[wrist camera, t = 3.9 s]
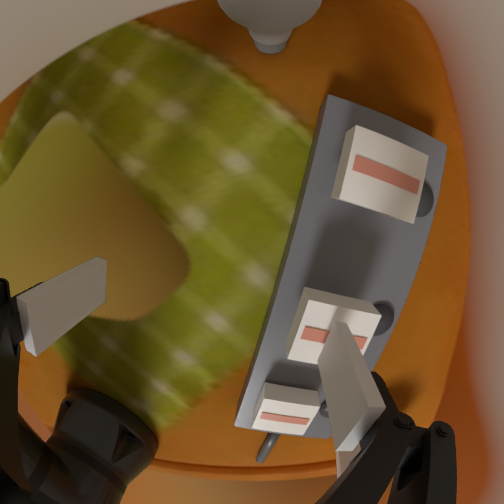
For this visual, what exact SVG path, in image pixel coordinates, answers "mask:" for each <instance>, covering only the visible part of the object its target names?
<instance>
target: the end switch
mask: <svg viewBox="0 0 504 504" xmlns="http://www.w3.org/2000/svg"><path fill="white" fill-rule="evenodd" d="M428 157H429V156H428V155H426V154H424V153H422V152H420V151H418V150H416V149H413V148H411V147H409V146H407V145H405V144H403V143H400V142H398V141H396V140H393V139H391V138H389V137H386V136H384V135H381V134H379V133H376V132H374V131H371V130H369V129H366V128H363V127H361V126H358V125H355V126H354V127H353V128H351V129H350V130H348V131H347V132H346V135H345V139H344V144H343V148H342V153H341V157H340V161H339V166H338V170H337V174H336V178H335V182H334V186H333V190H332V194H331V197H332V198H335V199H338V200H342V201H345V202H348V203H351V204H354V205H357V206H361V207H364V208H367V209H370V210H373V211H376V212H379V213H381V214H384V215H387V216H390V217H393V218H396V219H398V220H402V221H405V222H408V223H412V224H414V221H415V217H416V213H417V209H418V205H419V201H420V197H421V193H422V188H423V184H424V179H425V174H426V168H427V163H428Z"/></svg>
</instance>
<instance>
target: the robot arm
mask: <svg viewBox="0 0 504 504" xmlns="http://www.w3.org/2000/svg"><path fill="white" fill-rule="evenodd" d="M106 270H107V260H106V259H103V258H100V257H95V258H93V259H91V260H89V261H86V262H84V263H82V264H80V265H78V266H76V267H74V268H72V269H70V270H68V271H66V272H63V273H61V274H59V275H57V276H55V277H53V278H51V279H49V280H47V281H45V282H41V283H39V284H37V285H35V286H33V287H31V288H29V289H28V290H25V291H23V292H21V293H19V294H17V295H15V296H13V297H12V298H11V296H10V289H9V282H8V281H7V280H6V279H3V278H0V504H120V502H121V499H122V497H123V494H124V492H125V490H126V488H127V486H128V485H129V483H130V482H132V481H133V480H134V479H135V478H136V477H137V476H138V475H139V474H140V473H141V472H142V471H143V470H145V469H146V468H147V467H148V466H149V465H150V464H151V463H152V461H153V459H154V457H155V454H156V452H157V449H158V444H157V441H156V439H155V437H154V435H153V433H152V432H151V431H150V429H149V428H148V427H147V426H146V425H145V424H144V423H143V422H142V421H141V420H140V419H139V418H138V417H137V416H136V415H134V414H133V413H132V412H131V411H129V410H128V409H127V408H125V407H124V406H122V405H121V404H119V403H118V402H116V401H114V400H112V399H111V398H109V397H107V396H105V395H103V394H101V393H98V392H96V391H93V390H89V389H84V388H76V389H73V390H71V391H70V392H69V393H68V394H67V396H66V397H65V398H64V399H63V401H62V402H61V405H60V408H59V412H58V415H57V418H56V422H55V425H54V429H53V433H52V435H51V436H50V438H49V439H48V440H47V442H46V443H45V442H44V441H43V440H42V439H41V438H40V437H39V436H38V434H37V433H36V432H35V431H34V430H33V429H32V428H31V427H30V426H29V425H28V423H27V422H26V421H25V420H24V419H23V417H22V416H21V415H20V414H19V413H18V374H19V360H20V350H21V348H20V343H19V342H21V341H22V340H24V342H25V347H26V350H27V351H29V352H30V353H32V354H33V355H35V356H36V357H37V356H38V355H39V354H41V353H42V352H43V351H44V350H45V349H47V348H48V347H49V346H50V345H51V344H53V343H54V342H55V341H56V340H58V339H59V338H60V337H61V336H63V335H64V334H65V333H66V332H67V331H69V330H70V329H71V328H72V327H74V326H75V325H76V324H78V323H79V322H80V321H81V320H83V319H84V318H85V317H86V316H88V315H89V314H90V313H92V312H93V311H94V310H95V309H97V308H98V307H99V306H101V305H102V304H103V303H105V298H106V296H105V295H106ZM317 362H318V367H319V371H320V376H321V380H322V385H323V390H324V394H325V399H326V404H327V409H328V414H329V419H330V424H331V429H332V434H333V440H334V445H335V451H353V449H354V448H355V447H356V446H357V445H358V444H360V447H361V450H360V452H359V453H358V454H357V455H356V456H355V457H354V458H353V459H352V460H351V462H350V463H349V466H348V467H347V468H346V469H345V471H344V472H343V473H342V474H341V475H340V477H339V478H338V479H337V480H336V481H335V483H334V484H333V485H332V486H331V487H330V488H329V490H327V492H326V493H325V494H324V495H323V496H322V497H321V498H320V499H319V500H318V501H317V502H316V503H315V504H377V503H378V502H379V500H380V498H381V497H382V495H383V493H384V492H385V490H386V488H387V487H388V485H389V483H390V481H391V479H392V478H393V476H394V478H393V483H392V487H391V491H390V495H389V499H388V503H387V504H456V493H457V490H456V489H457V466H456V447H455V436H454V435H455V434H454V431H453V429H452V428H451V426H450V425H448V424H447V423H445V422H442V421H435V422H433V423H432V424H431V426H430V427H429V428H428V429H427V428H422V427H418V426H416V425H415V423H414V421H413V419H412V418H411V417H410V416H408V415H407V414H405V413H402V412H398V409H397V407H396V405H395V403H394V401H393V399H392V397H391V395H390V393H389V391H388V389H387V388H386V384H385V382H384V380H383V379H382V378H381V377H380V376H379V375H378V374H377V373H376V372H371V371H370V370H369V368H368V366H367V364H366V362H365V360H364V358H363V355H362V353H361V351H360V349H359V347H358V345H357V343H356V341H355V339H354V337H353V335H352V333H351V331H350V329H349V327H348V325H347V323H343V322H338V321H334V322H333V325H332V327H331V330H330V332H329V335H328V337H327V339H326V342H325V344H324V346H323V349H322V351H321V353H320V356H319V358H318V360H317Z"/></svg>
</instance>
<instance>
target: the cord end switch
mask: <svg viewBox="0 0 504 504" xmlns="http://www.w3.org/2000/svg"><path fill="white" fill-rule="evenodd" d="M319 408H320V402H319V397H318V392H317V391H314V390H307V389H300V388H294V387H288V386H282V385H277V384H272V383H266V382H265V383H264V386H263V388H262V391H261V393H260V396H259V399H258V401H257V404H256V406H255V409H254V411H253V418H252V428H254V429H260V430H266V431H272V432H279V433H287V434H295V435H303V434H304V433H305V431H306V430H307V428H308V427H309V425H310V423H311V422H312V420H313V418H314V417H315V415H316V413H317V412H318V410H319Z"/></svg>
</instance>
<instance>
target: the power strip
mask: <svg viewBox="0 0 504 504" xmlns="http://www.w3.org/2000/svg"><path fill="white" fill-rule="evenodd" d="M355 125H358V126H361V127H363V128H366V129H369V130H371V131H374V132H376V133H379V134H381V135H384V136H386V137H389V138H391V139H393V140H396V141H398V142H400V143H403V144H405V145H407V146H409V147H411V148H413V149H416V150H418V151H420V152H422V153H424V154H426V155H428V156H429V157H428V163H427V168H426V174H425V179H424V184H423V188H422V193H421V197H420V201H419V205H418V209H417V213H416V217H415V221H414V224H412V223H408V222H405V221H402V220H398V219H396V218H393V217H390V216H387V215H384V214H381V213H379V212H376V211H373V210H370V209H367V208H364V207H361V206H357V205H354V204H351V203H348V202H345V201H342V200H338V199H335V198H332V197H331V194H332V190H333V186H334V182H335V178H336V174H337V170H338V166H339V161H340V157H341V153H342V148H343V144H344V139H345V135H346V132H347V131H348V130H350V129H351V128H353V127H354V126H355ZM446 151H447V145H445V144H444V143H442V142H440V141H438V140H436V139H435V138H433V137H431V136H429V135H427V134H425V133H423V132H421V131H419V130H417V129H415V128H413V127H411V126H409V125H407V124H405V123H403V122H400V121H398V120H396V119H394V118H391V117H389V116H387V115H384V114H382V113H380V112H377V111H375V110H372V109H370V108H367V107H364V106H362V105H359V104H356V103H353V102H351V101H348V100H345V99H342V98H339V97H336V96H333V95H329V94H328V95H327V97H326V99H325V100H324V102H323V103H322V105H321V107H320V112H319V116H318V120H317V125H316V129H315V133H314V138H313V142H312V146H311V150H310V154H309V158H308V162H307V166H306V170H305V174H304V178H303V182H302V186H301V190H300V194H299V198H298V202H297V206H296V209H295V213H294V217H293V221H292V225H291V228H290V232H289V236H288V239H287V243H286V247H285V250H284V254H283V257H282V261H281V265H280V268H279V272H278V275H277V279H276V282H275V286H274V289H273V292H272V296H271V299H270V303H269V306H268V309H267V313H266V316H265V319H264V323H263V326H262V329H261V333H260V336H259V339H258V342H257V346H256V349H255V352H254V355H253V358H252V362H251V365H250V368H249V371H248V374H247V377H246V380H245V383H244V386H243V389H242V393H241V396H240V399H239V402H238V405H237V409H236V416H235V422H234V426H237V427H242V428H247V429H252V430H258V431H264V432H269V434H268V436H267V438H266V440H265V442H264V444H263V446H262V448H261V449H260V451H259V453H258V455H257V457H256V461H257V462H258V463H263V462H264V461H265V460H266V458H267V456H268V455H269V453H270V451H271V450H272V448H273V446H274V444H275V443H276V441H277V439H278V437H279V436H280V434H284V435H292V436H301V437H312V438H327V439H329V438H330V436H331V435H332V429H331V424H330V419H329V414H328V409H327V404H326V399H325V394H324V390H323V385H322V380H321V376H320V371H319V367H318V364H312V363H306V362H301V361H295V360H290V359H287V350H286V340H287V337H288V334H289V331H290V328H291V326H292V323H293V320H294V317H295V314H296V311H297V308H298V305H299V302H300V299H301V296H302V293H303V290H304V287H308V288H312V289H317V290H321V291H325V292H329V293H334V294H338V295H342V296H346V297H351V298H355V299H360V300H364V301H368V302H371V303H372V304H373V305H374V307H375V308H376V309H377V310H378V312H379V313H380V314H381V315H382V316H381V318H380V320H379V323H378V325H377V327H376V329H375V332H374V334H373V336H372V338H371V340H370V342H369V344H368V346H367V349H366V351H365V353H364V355H363V358H364V360H365V362H366V364H367V366H368V368H369V370H370V371H371V372H372V370H373V368H374V367H375V365H376V363H377V361H378V359H379V357H380V355H381V353H382V351H383V349H384V347H385V345H386V343H387V341H388V339H389V337H390V335H391V333H392V331H393V329H394V326H395V324H396V322H397V320H398V318H399V315H400V313H401V311H402V308H403V306H404V303H405V301H406V299H407V296H408V294H409V291H410V288H411V286H412V283H413V280H414V278H415V275H416V272H417V269H418V266H419V263H420V261H421V257H422V254H423V251H424V248H425V245H426V242H427V238H428V235H429V231H430V228H431V224H432V220H433V216H434V212H435V208H436V204H437V200H438V195H439V191H440V186H441V181H442V175H443V170H444V164H445V157H446ZM265 382H266V383H272V384H277V385H282V386H288V387H294V388H300V389H307V390H314V391H317V392H318V397H319V402H320V408H319V410H318V412H317V413H316V415H315V417H314V418H313V420H312V422H311V423H310V425H309V427H308V428H307V430H306V431H305V433H304V434H303V435H295V434H287V433H279V432H272V431H266V430H260V429H254V428H252V418H253V411H254V409H255V406H256V404H257V401H258V399H259V396H260V393H261V391H262V388H263V386H264V383H265Z"/></svg>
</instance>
